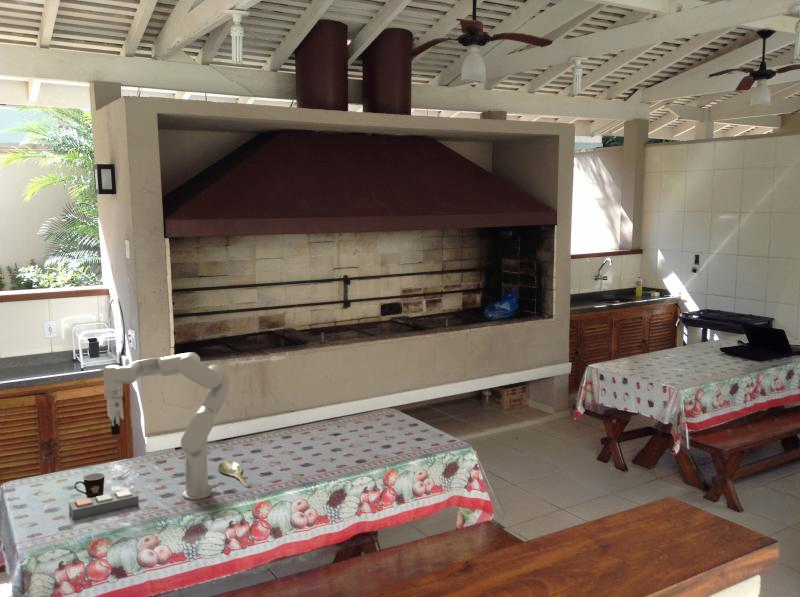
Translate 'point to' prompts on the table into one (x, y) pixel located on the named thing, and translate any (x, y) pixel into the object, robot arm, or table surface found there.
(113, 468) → the table surface
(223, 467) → the spoon
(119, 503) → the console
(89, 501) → the button terracotta
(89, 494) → the coffee mug
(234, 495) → the table surface
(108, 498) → the button sage
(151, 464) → the table surface
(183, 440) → the robot arm
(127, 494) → the button cream
